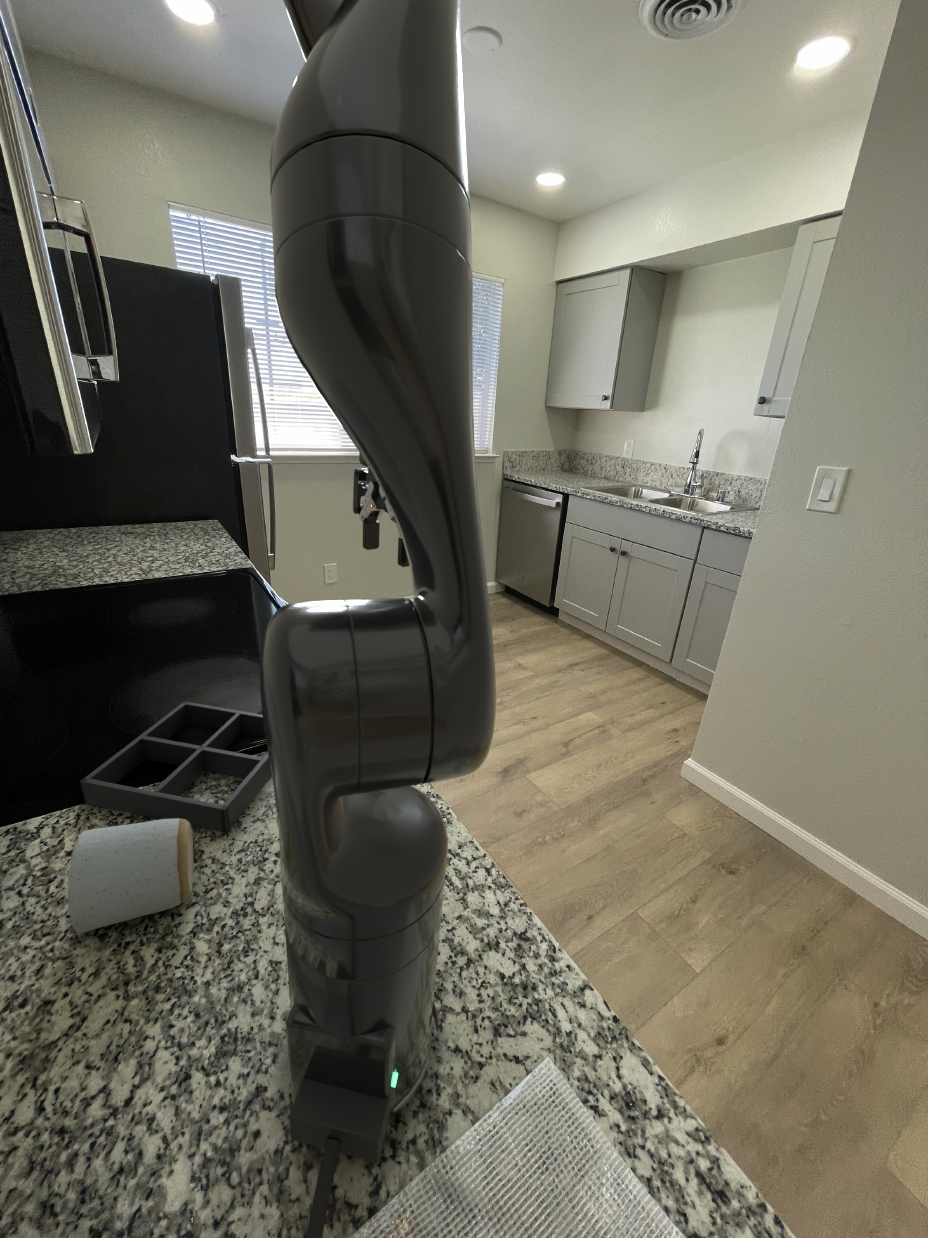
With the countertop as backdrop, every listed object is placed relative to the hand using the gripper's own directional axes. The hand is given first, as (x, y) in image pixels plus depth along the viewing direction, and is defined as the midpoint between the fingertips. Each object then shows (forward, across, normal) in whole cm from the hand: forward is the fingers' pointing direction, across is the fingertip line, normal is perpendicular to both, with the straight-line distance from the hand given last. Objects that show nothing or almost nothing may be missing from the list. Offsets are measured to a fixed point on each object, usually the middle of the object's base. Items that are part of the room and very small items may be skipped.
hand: (387, 556), depth 67 cm
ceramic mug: (+23, +14, -34) cm, 43 cm away
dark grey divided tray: (+23, 0, -25) cm, 34 cm away
